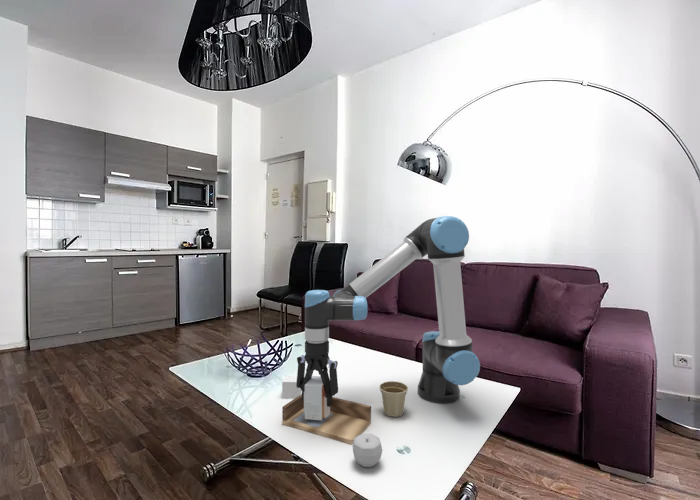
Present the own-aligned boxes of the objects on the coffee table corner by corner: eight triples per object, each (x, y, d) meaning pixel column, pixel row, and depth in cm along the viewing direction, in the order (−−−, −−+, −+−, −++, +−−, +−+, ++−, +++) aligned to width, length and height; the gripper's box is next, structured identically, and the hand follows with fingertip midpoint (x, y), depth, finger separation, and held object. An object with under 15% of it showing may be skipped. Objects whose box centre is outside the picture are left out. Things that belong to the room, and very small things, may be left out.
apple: (346, 469, 86) (346, 442, 86) (357, 451, 93) (357, 426, 93) (377, 476, 83) (378, 449, 83) (386, 457, 90) (386, 432, 90)
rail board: (370, 423, 108) (370, 405, 108) (352, 444, 96) (352, 425, 96) (306, 406, 119) (306, 390, 118) (282, 424, 107) (282, 406, 107)
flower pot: (400, 423, 108) (401, 395, 108) (374, 415, 113) (374, 388, 113) (412, 410, 116) (412, 385, 116) (386, 403, 121) (386, 379, 121)
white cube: (285, 391, 131) (285, 375, 131) (301, 391, 131) (301, 375, 131) (282, 398, 125) (282, 381, 125) (298, 398, 125) (298, 382, 125)
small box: (321, 421, 104) (321, 386, 104) (304, 419, 106) (304, 385, 105) (328, 408, 112) (328, 376, 112) (312, 407, 113) (312, 375, 113)
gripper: (350, 341, 107) (350, 414, 108) (298, 333, 116) (298, 401, 117) (338, 347, 101) (338, 426, 101) (284, 339, 110) (284, 411, 110)
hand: (316, 413), depth 109 cm, fingers closed on small box, 7 cm apart
